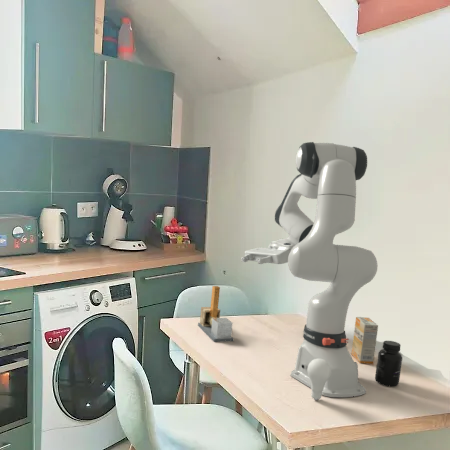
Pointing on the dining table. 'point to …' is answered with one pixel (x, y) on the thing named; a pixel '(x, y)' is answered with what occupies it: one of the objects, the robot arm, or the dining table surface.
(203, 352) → the dining table surface
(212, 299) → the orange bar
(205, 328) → the slate board
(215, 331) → the matte gray cube
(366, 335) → the supplement box
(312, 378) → the lightbulb
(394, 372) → the supplement bottle
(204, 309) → the socket block
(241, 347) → the dining table surface
